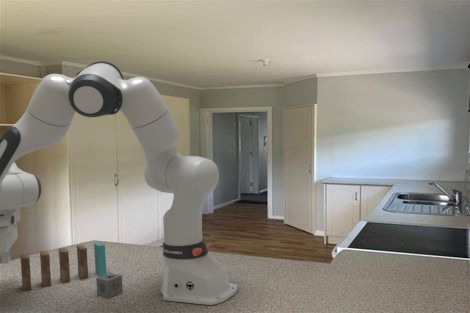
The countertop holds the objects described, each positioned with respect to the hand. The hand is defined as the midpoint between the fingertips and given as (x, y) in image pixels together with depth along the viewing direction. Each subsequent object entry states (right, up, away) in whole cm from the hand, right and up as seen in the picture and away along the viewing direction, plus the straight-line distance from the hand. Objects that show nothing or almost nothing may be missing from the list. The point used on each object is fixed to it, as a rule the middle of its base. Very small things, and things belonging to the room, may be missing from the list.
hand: (6, 262), depth 122 cm
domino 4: (+19, -8, +12) cm, 23 cm away
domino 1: (+4, -9, +3) cm, 10 cm away
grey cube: (+32, -8, -3) cm, 33 cm away
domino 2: (+9, -9, +6) cm, 14 cm away
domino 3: (+14, -8, +9) cm, 18 cm away
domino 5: (+23, -8, +15) cm, 29 cm away
